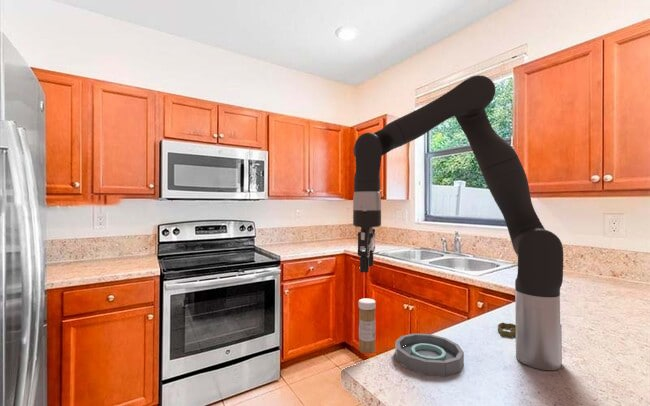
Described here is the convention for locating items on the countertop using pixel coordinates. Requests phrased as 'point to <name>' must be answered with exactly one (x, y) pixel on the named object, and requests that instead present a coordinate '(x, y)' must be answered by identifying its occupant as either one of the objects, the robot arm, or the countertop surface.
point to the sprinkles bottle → (367, 325)
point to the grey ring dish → (429, 354)
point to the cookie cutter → (507, 326)
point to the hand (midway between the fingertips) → (367, 268)
